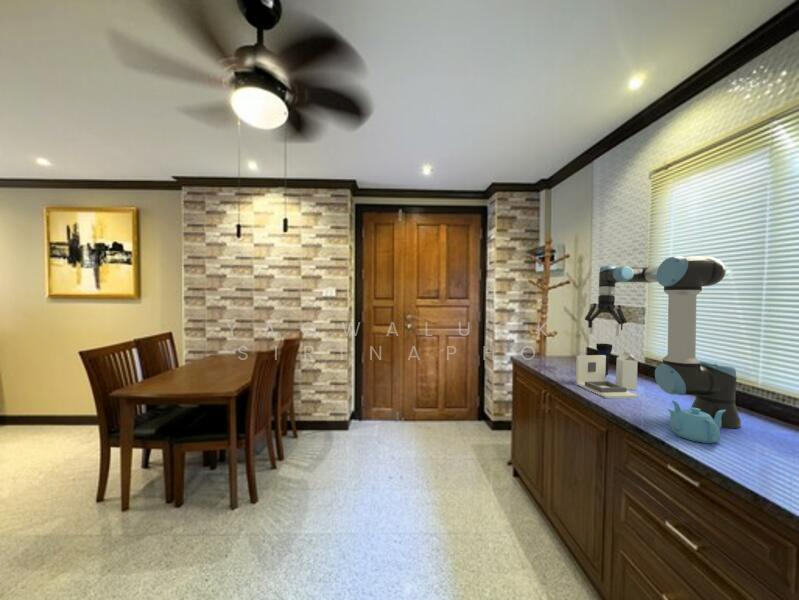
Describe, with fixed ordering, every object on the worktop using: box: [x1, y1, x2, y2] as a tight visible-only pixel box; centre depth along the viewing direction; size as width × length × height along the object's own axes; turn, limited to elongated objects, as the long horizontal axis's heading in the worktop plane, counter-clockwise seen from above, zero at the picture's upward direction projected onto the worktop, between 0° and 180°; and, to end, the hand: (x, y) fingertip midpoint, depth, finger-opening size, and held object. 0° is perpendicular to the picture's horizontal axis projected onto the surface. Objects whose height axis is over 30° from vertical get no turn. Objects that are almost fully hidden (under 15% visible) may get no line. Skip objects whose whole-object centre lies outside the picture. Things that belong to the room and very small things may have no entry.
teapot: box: [667, 400, 726, 444], centre depth 122 cm, size 15×15×10 cm
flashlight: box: [595, 342, 613, 379], centre depth 203 cm, size 8×8×20 cm
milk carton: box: [615, 350, 639, 391], centre depth 183 cm, size 7×7×19 cm
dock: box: [575, 354, 639, 399], centre depth 177 cm, size 24×16×16 cm, turn 6°
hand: (604, 335), depth 184 cm, fingers open, 13 cm apart
